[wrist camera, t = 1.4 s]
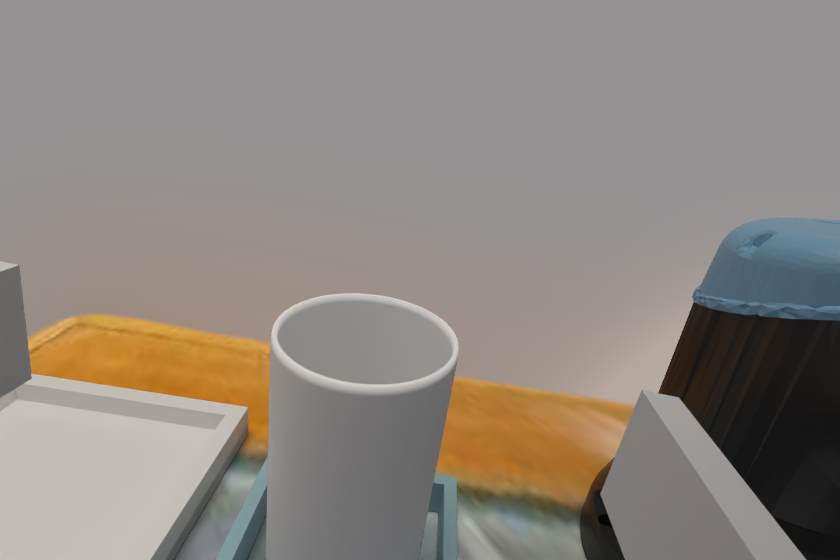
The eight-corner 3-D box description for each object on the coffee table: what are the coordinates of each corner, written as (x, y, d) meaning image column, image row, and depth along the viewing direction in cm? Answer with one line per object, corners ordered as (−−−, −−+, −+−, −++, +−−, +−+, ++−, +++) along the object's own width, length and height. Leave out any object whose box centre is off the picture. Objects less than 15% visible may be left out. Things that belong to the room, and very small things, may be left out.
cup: (441, 593, 27) (497, 352, 21) (312, 699, 21) (338, 415, 15) (359, 496, 32) (385, 282, 26) (240, 561, 27) (238, 311, 21)
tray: (17, 397, 36) (11, 370, 35) (248, 433, 36) (248, 407, 35) (-438, 718, 18) (-476, 678, 17) (35, 793, 18) (23, 757, 17)
